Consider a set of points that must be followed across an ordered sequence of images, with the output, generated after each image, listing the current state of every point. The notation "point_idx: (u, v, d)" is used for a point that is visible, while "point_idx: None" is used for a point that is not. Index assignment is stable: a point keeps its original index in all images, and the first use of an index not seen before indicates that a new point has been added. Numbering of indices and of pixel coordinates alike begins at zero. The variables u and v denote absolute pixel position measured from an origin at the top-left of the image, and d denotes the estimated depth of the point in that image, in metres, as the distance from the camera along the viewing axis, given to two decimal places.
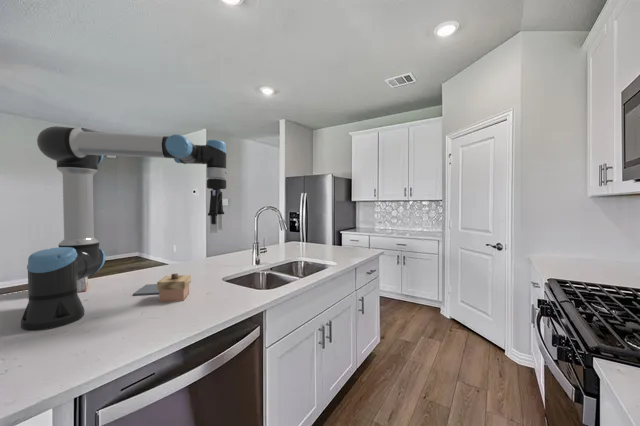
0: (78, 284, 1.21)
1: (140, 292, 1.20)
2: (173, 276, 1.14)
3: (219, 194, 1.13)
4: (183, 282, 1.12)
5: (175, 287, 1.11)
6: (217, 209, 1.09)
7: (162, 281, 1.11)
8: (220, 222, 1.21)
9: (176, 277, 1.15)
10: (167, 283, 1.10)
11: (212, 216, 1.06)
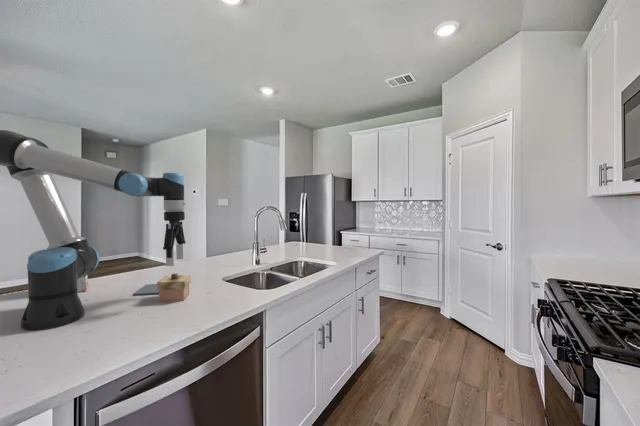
0: (78, 284, 1.21)
1: (140, 292, 1.20)
2: (173, 276, 1.14)
3: (176, 226, 1.13)
4: (183, 282, 1.12)
5: (175, 287, 1.11)
6: (173, 242, 1.09)
7: (162, 281, 1.11)
8: (181, 252, 1.22)
9: (176, 277, 1.15)
10: (167, 283, 1.10)
11: (167, 250, 1.07)
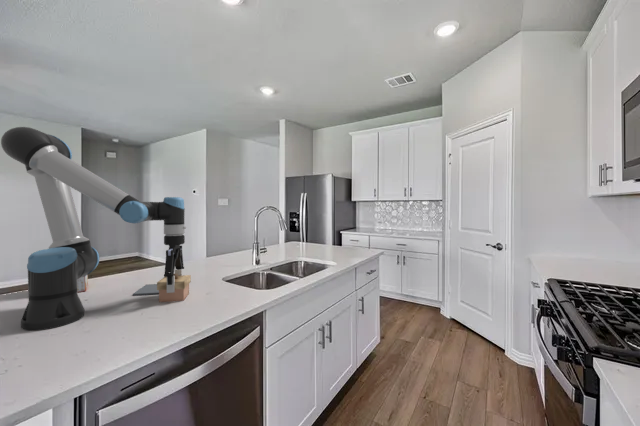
0: (78, 284, 1.21)
1: (140, 292, 1.20)
2: None
3: (176, 251, 1.14)
4: (183, 282, 1.12)
5: (175, 287, 1.11)
6: None
7: (162, 281, 1.11)
8: None
9: (176, 277, 1.15)
10: None
11: (168, 277, 1.09)
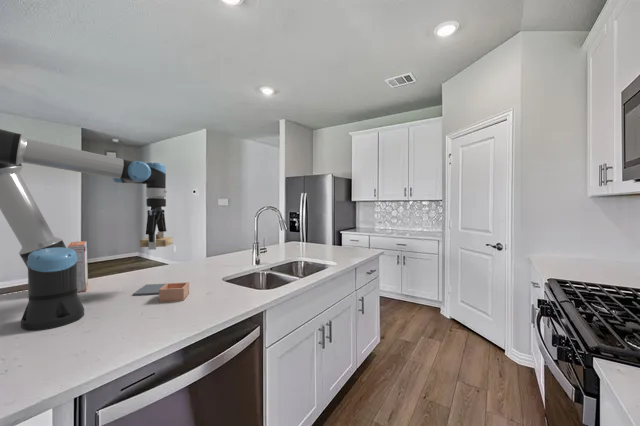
0: (78, 284, 1.21)
1: (140, 292, 1.20)
2: None
3: (158, 212, 1.23)
4: (164, 240, 1.22)
5: (156, 245, 1.21)
6: (155, 228, 1.21)
7: (145, 239, 1.21)
8: None
9: (158, 237, 1.25)
10: None
11: (149, 235, 1.19)
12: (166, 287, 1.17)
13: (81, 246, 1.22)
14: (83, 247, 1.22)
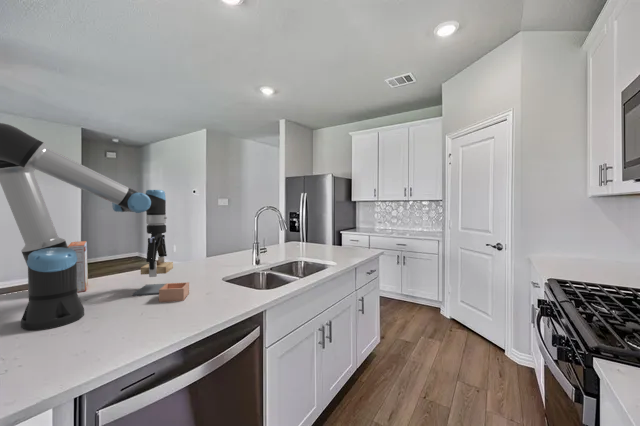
0: (78, 284, 1.21)
1: (140, 292, 1.20)
2: (156, 262, 1.25)
3: (158, 239, 1.24)
4: (164, 267, 1.22)
5: (157, 272, 1.22)
6: (155, 255, 1.21)
7: (145, 266, 1.22)
8: None
9: (158, 263, 1.25)
10: None
11: (150, 262, 1.19)
12: (166, 287, 1.17)
13: (81, 246, 1.22)
14: (83, 247, 1.22)
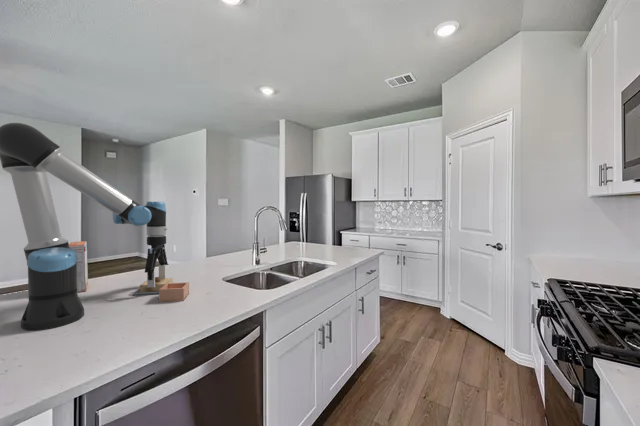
0: (78, 284, 1.21)
1: (140, 292, 1.20)
2: (155, 279, 1.25)
3: (158, 250, 1.24)
4: None
5: (157, 289, 1.22)
6: (154, 265, 1.20)
7: (145, 284, 1.22)
8: (163, 272, 1.32)
9: (158, 280, 1.25)
10: None
11: (148, 273, 1.18)
12: (166, 287, 1.17)
13: (81, 246, 1.22)
14: (83, 247, 1.22)
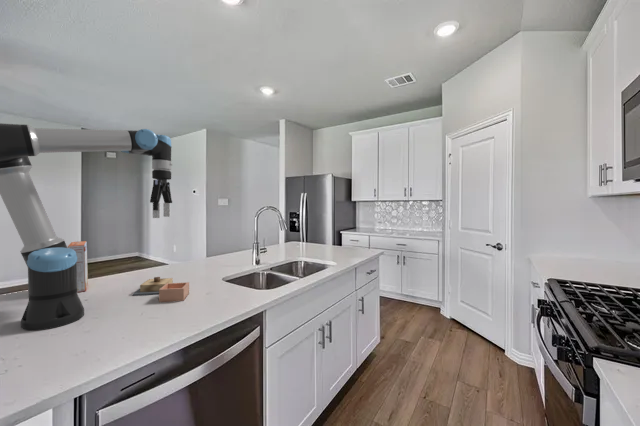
0: (78, 284, 1.21)
1: (140, 292, 1.20)
2: (155, 279, 1.25)
3: (163, 184, 1.25)
4: None
5: (157, 289, 1.22)
6: (159, 197, 1.21)
7: (145, 284, 1.22)
8: (167, 210, 1.33)
9: (158, 280, 1.25)
10: (149, 286, 1.21)
11: (154, 203, 1.18)
12: (166, 287, 1.17)
13: (81, 246, 1.22)
14: (83, 247, 1.22)
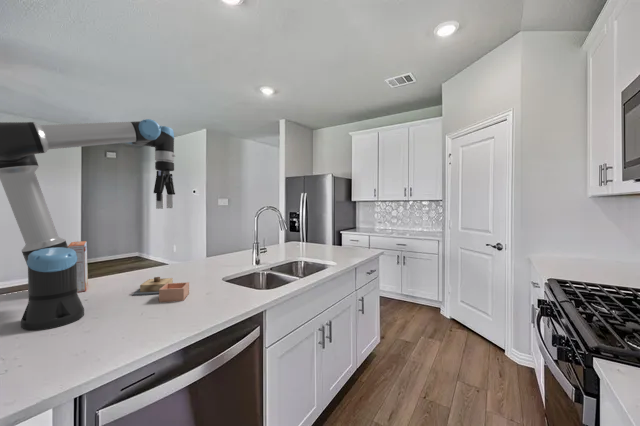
0: (78, 284, 1.21)
1: (140, 292, 1.20)
2: (155, 279, 1.25)
3: (166, 175, 1.26)
4: None
5: (157, 289, 1.22)
6: (163, 188, 1.22)
7: (145, 284, 1.22)
8: (170, 201, 1.34)
9: (158, 280, 1.25)
10: (149, 286, 1.21)
11: (157, 193, 1.19)
12: (166, 287, 1.17)
13: (81, 246, 1.22)
14: (83, 247, 1.22)
